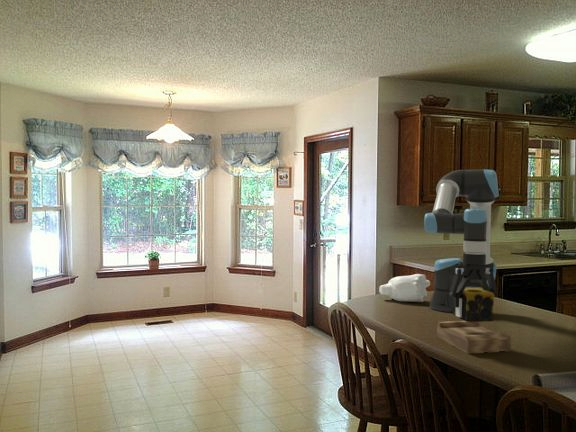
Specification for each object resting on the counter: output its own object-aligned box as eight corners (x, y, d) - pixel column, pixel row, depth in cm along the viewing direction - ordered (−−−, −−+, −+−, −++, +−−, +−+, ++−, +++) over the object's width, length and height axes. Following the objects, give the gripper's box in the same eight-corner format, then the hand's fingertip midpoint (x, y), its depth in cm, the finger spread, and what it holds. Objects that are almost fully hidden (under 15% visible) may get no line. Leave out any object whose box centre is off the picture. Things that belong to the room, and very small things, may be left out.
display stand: (476, 334, 185) (476, 320, 185) (510, 351, 166) (511, 334, 166) (437, 336, 182) (437, 321, 182) (467, 353, 163) (467, 336, 162)
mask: (381, 301, 257) (431, 301, 249) (377, 303, 243) (430, 302, 235) (380, 274, 258) (430, 273, 250) (376, 275, 245) (428, 273, 237)
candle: (452, 315, 178) (453, 287, 178) (479, 315, 179) (480, 287, 179) (465, 322, 168) (466, 293, 168) (493, 321, 169) (494, 292, 169)
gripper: (497, 251, 179) (495, 312, 179) (439, 252, 174) (437, 314, 175) (510, 253, 171) (508, 317, 172) (450, 254, 167) (448, 319, 168)
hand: (472, 316), depth 174 cm, fingers closed on candle, 10 cm apart
